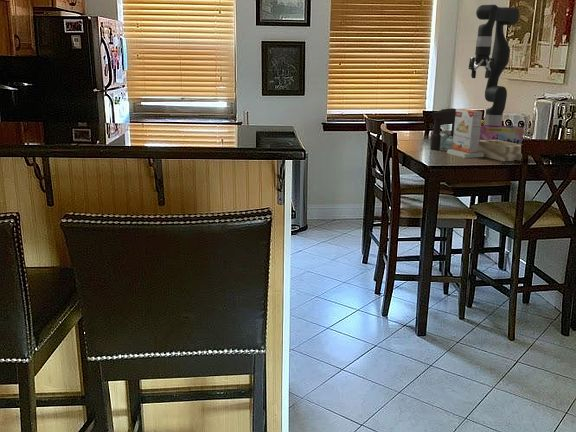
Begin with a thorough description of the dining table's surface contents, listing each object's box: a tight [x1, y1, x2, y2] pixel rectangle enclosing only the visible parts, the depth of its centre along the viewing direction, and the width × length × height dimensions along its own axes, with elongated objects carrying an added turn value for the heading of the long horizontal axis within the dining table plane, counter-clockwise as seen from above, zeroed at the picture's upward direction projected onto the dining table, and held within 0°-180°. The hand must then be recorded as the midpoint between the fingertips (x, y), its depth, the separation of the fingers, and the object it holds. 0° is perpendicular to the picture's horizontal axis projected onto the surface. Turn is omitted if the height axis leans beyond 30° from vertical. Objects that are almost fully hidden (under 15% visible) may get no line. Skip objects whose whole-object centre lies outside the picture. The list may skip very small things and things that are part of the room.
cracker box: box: [452, 108, 483, 153], centre depth 290 cm, size 14×6×21 cm, turn 21°
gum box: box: [479, 124, 525, 145], centre depth 305 cm, size 24×8×14 cm, turn 76°
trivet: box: [447, 149, 484, 159], centre depth 293 cm, size 12×14×2 cm
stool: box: [430, 108, 457, 151], centre depth 313 cm, size 16×21×33 cm
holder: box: [478, 140, 522, 162], centre depth 289 cm, size 14×22×7 cm, turn 21°
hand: (480, 78), depth 298 cm, fingers open, 8 cm apart
